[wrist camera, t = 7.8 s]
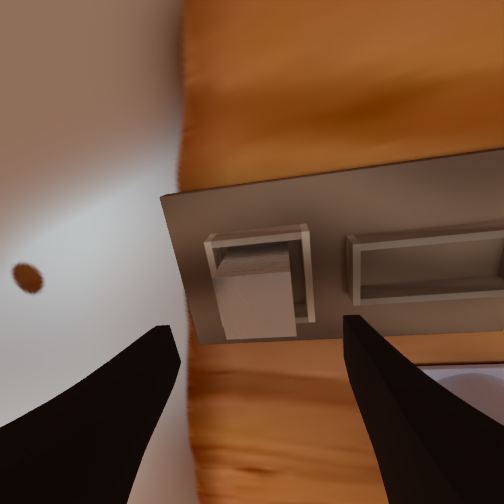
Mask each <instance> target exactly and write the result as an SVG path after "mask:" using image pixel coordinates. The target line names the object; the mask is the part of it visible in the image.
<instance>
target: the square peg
mask: <svg viewBox="0 0 504 504" xmlns="http://www.w3.org/2000/svg"><path fill="white" fill-rule="evenodd" d="M213 281H214V285H215V290H216V294H217V299H218V303H219V308H220V312H221V317H222V321H223V326H224V330H225V335H226V339H227V340H230V339H251V338H273V337H294V336H297V334H296V322H295V311H294V300H293V288H292V278H291V268H290V258H289V248H288V241H278V242H268V243H259V244H249V245H239V246H229V248H228V250H227V252H226V254H225V256H224V258H223V260H222V262H221V264H220V265H219V267H218V269H217V271H216V273H215V275H214V277H213Z"/></svg>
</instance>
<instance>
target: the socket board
mask: <svg viewBox="0 0 504 504" xmlns="http://www.w3.org/2000/svg"><path fill="white" fill-rule="evenodd" d="M160 201H161V205H162V208H163V212H164V215H165V219H166V223H167V227H168V230H169V234H170V237H171V241H172V245H173V249H174V252H175V256H176V259H177V263H178V267H179V271H180V274H181V278H182V282H183V285H184V289H185V293H186V296H187V300H188V304H189V307H190V311H191V315H192V318H193V322H194V326H195V329H196V333H197V337H198V340H199V344H200V345H205V344H227V343H249V342H271V341H293V340H315V339H338V338H343V315H358V314H359V315H361V316H362V317H363V318H364V319H365V320H366V321H367V322H368V323H369V324H370V325H371V326H372V327H373V328H374V329H375V330H376V331H377V332H378V333H379V334H380V335H381V336H404V335H426V334H449V333H471V332H493V331H503V328H504V148H497V149H490V150H483V151H476V152H468V153H461V154H454V155H447V156H440V157H432V158H425V159H418V160H411V161H404V162H396V163H389V164H382V165H375V166H368V167H360V168H353V169H346V170H339V171H332V172H324V173H317V174H310V175H303V176H296V177H288V178H281V179H274V180H267V181H260V182H252V183H245V184H238V185H231V186H223V187H216V188H209V189H202V190H195V191H187V192H180V193H173V194H166V195H164V196H161V197H160ZM278 241H288V248H289V258H290V268H291V278H292V288H293V300H294V311H295V322H296V334H297V336H294V337H273V338H251V339H230V340H227V339H226V335H225V330H224V326H223V321H222V317H221V312H220V308H219V303H218V299H217V294H216V290H215V285H214V281H213V277H214V275H215V273H216V271H217V269H218V267H219V265H220V264H221V262H222V260H223V258H224V256H225V254H226V252H227V250H228V248H229V246H239V245H249V244H259V243H268V242H278Z"/></svg>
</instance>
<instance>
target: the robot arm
mask: <svg viewBox="0 0 504 504" xmlns="http://www.w3.org/2000/svg"><path fill="white" fill-rule="evenodd" d="M343 347H344V360H345V364H346V369H347V373H348V377H349V381H350V384H351V387H352V390H353V393H354V395H355V398H356V401H357V404H358V407H359V409H360V412H361V415H362V418H363V420H364V423H365V426H366V429H367V432H368V434H369V437H370V440H371V443H372V445H373V448H374V452H375V455H376V458H377V461H378V464H379V468H380V472H381V475H382V479H383V483H384V487H385V490H386V494H387V498H388V501H389V504H504V364H481V365H446V366H416V365H414V364H413V363H412V362H411V361H409V360H408V359H407V358H406V357H405V356H403V355H402V354H401V353H400V352H399V351H398V350H397V349H396V348H394V347H393V346H392V345H391V344H390V343H389V342H388V341H387V340H386V339H384V338H383V337H382V336H381V335H380V334H379V333H378V332H377V331H376V330H375V329H374V328H373V327H372V326H371V325H370V324H369V323H368V322H367V321H366V320H365V319H364V318H363V317H362V316H361V315H359V314H358V315H343ZM180 364H181V360H180V357H179V354H178V351H177V347H176V344H175V341H174V338H173V334H172V332H171V328H170V325H162V326H155V327H154V328H152V329H151V330H149V331H148V332H147V333H145V334H144V335H143V336H141V337H140V338H139V339H137V340H136V341H135V342H133V343H132V344H131V345H130V346H128V347H127V348H126V349H124V350H123V351H122V352H120V353H119V354H118V355H116V356H115V357H114V358H112V359H111V360H110V361H108V362H107V363H106V364H104V365H103V366H101V367H100V368H98V369H97V370H96V371H94V372H93V373H91V374H90V375H89V376H87V377H86V378H84V379H83V380H81V381H80V382H78V383H77V384H75V385H74V386H72V387H71V388H69V389H67V390H66V391H64V392H63V393H61V394H59V395H58V396H56V397H55V398H53V399H51V400H50V401H48V402H46V403H45V404H43V405H41V406H39V407H37V408H35V409H34V410H32V411H30V412H28V413H27V414H25V415H23V416H21V417H19V418H17V419H16V420H14V421H12V422H10V423H8V424H6V425H4V426H2V427H0V504H127V501H128V498H129V494H130V492H131V489H132V486H133V483H134V480H135V477H136V474H137V472H138V468H139V466H140V463H141V460H142V457H143V455H144V452H145V450H146V447H147V445H148V443H149V440H150V438H151V436H152V434H153V431H154V429H155V427H156V425H157V422H158V420H159V418H160V416H161V414H162V412H163V409H164V407H165V405H166V403H167V400H168V398H169V396H170V394H171V391H172V389H173V386H174V384H175V381H176V378H177V375H178V371H179V368H180Z"/></svg>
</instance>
